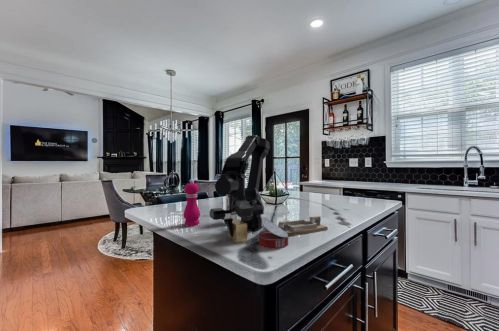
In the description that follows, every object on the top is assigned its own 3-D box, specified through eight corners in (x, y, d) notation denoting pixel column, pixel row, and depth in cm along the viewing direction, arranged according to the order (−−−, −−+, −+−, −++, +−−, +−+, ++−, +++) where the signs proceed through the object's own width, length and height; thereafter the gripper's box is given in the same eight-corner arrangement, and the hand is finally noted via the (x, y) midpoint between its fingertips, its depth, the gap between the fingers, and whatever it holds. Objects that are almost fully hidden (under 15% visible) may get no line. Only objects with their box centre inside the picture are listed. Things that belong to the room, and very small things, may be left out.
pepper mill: (203, 223, 108) (203, 178, 108) (191, 227, 102) (191, 179, 102) (192, 221, 112) (191, 178, 112) (180, 225, 106) (179, 179, 106)
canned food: (271, 251, 86) (279, 224, 90) (291, 257, 78) (299, 227, 81) (246, 242, 81) (256, 213, 84) (265, 247, 73) (275, 215, 76)
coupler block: (236, 242, 82) (236, 225, 82) (228, 236, 89) (228, 220, 89) (247, 241, 84) (247, 223, 84) (238, 235, 91) (238, 219, 91)
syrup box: (234, 219, 115) (233, 189, 115) (243, 221, 112) (243, 189, 112) (226, 222, 111) (225, 190, 110) (236, 224, 107) (235, 191, 107)
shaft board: (270, 230, 97) (270, 218, 97) (311, 224, 105) (311, 213, 105) (284, 236, 88) (284, 224, 88) (327, 229, 96) (327, 218, 96)
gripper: (218, 196, 75) (219, 247, 75) (271, 192, 83) (271, 238, 83) (208, 192, 85) (209, 237, 85) (256, 189, 93) (256, 230, 93)
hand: (237, 235), depth 86 cm, fingers closed on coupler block, 4 cm apart
